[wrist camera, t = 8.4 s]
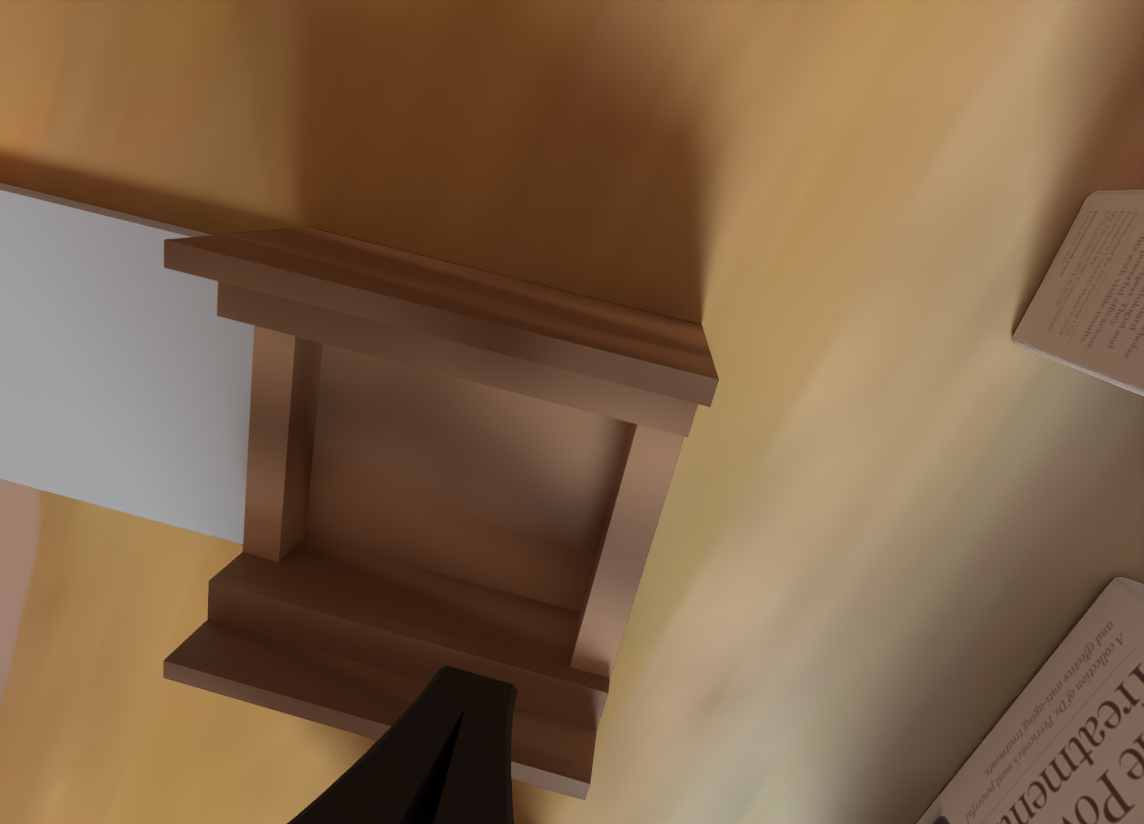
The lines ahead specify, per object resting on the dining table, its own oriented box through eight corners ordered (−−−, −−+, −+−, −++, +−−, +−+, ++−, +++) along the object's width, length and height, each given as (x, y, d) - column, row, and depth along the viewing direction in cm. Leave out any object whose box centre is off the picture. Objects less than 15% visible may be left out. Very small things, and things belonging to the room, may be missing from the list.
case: (603, 653, 22) (584, 799, 17) (281, 564, 23) (163, 677, 18) (701, 324, 18) (718, 379, 13) (307, 227, 19) (164, 239, 14)
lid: (289, 529, 23) (265, 550, 22) (35, 460, 24) (-4, 477, 22) (309, 254, 20) (282, 259, 18) (12, 181, 20) (-36, 181, 19)
